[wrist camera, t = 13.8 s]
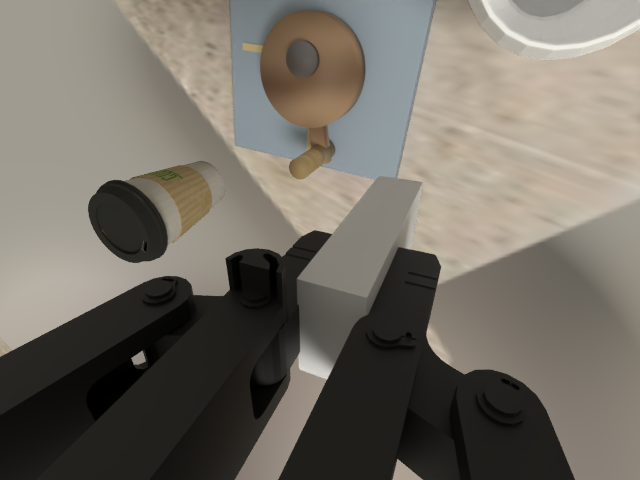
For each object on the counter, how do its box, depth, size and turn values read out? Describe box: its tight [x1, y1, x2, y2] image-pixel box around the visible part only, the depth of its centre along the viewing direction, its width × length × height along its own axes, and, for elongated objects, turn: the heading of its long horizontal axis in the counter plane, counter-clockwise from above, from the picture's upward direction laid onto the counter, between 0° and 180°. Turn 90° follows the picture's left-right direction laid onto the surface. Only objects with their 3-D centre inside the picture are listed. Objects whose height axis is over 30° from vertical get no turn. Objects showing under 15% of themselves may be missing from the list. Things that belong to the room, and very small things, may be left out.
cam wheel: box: [260, 10, 366, 179], centre depth 34 cm, size 14×10×7 cm
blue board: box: [230, 0, 436, 180], centre depth 36 cm, size 20×20×3 cm
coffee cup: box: [88, 161, 225, 263], centre depth 45 cm, size 10×10×15 cm
